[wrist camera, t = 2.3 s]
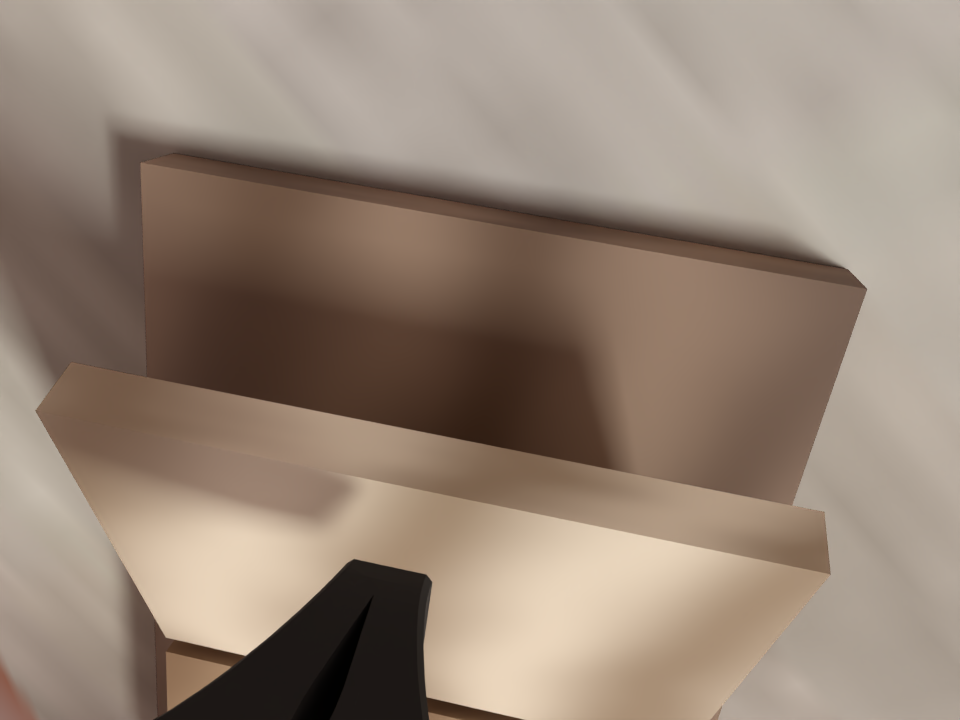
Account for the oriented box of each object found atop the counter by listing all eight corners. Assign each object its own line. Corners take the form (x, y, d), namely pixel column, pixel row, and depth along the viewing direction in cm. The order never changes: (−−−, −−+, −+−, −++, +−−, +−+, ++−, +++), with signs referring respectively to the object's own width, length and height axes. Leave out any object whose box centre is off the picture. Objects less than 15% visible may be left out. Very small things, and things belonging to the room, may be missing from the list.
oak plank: (824, 512, 14) (830, 573, 13) (682, 708, 21) (680, 755, 21) (71, 362, 15) (35, 410, 14) (185, 596, 23) (165, 637, 22)
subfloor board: (847, 269, 18) (885, 307, 16) (651, 858, 26) (654, 946, 23) (174, 153, 19) (109, 171, 17) (182, 746, 27) (139, 816, 25)
